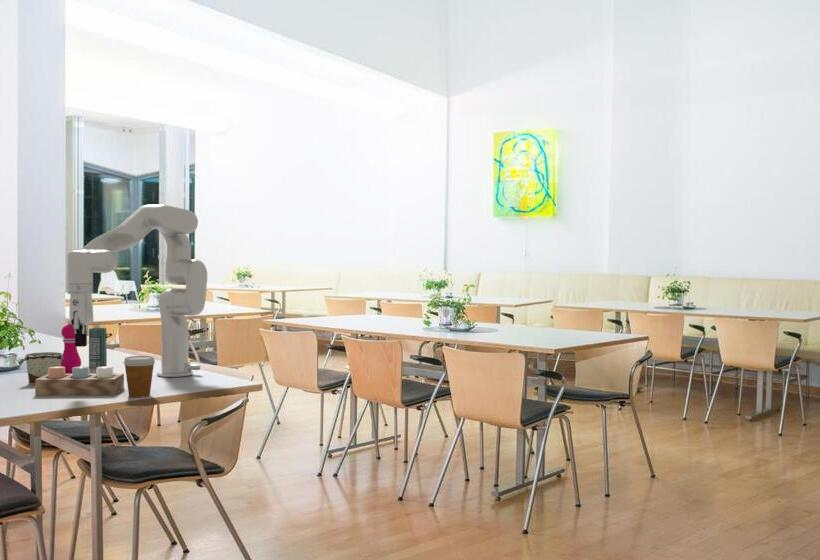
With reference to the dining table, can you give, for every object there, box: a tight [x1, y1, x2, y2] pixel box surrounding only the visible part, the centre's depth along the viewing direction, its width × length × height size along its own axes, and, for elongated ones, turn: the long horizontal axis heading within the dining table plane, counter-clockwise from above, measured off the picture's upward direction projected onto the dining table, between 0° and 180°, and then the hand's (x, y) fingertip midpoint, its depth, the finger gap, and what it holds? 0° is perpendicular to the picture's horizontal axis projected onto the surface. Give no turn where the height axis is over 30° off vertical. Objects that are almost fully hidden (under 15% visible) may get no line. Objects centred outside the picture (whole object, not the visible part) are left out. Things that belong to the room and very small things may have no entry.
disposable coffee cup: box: [122, 355, 156, 398], centre depth 260 cm, size 10×10×12 cm
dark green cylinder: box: [88, 327, 108, 369], centre depth 319 cm, size 6×6×15 cm
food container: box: [23, 351, 64, 385], centre depth 283 cm, size 12×6×10 cm, turn 111°
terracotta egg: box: [48, 367, 65, 378], centre depth 264 cm, size 5×5×6 cm
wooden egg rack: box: [34, 373, 125, 396], centre depth 265 cm, size 24×12×5 cm, turn 95°
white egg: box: [95, 366, 114, 378], centre depth 266 cm, size 5×5×6 cm
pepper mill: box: [60, 319, 82, 374], centre depth 298 cm, size 7×7×20 cm
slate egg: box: [72, 366, 90, 378], centre depth 265 cm, size 5×5×6 cm
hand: (81, 346), depth 265 cm, fingers closed
